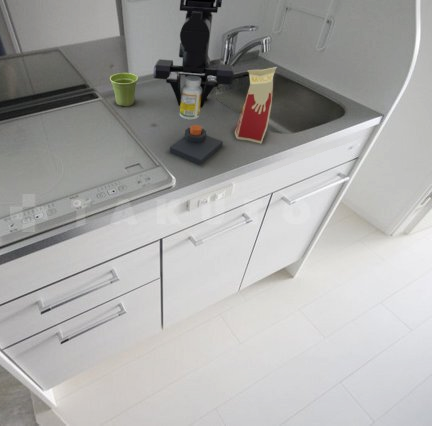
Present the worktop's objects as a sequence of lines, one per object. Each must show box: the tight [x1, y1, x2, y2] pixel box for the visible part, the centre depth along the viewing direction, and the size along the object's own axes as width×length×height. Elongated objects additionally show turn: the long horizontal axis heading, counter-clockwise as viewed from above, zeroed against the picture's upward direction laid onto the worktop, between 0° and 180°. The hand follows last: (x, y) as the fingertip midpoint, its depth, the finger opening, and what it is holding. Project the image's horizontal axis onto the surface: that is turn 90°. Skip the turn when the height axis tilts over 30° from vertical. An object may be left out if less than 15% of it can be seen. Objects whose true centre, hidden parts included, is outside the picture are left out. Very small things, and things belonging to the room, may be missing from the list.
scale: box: [169, 126, 224, 166], centre depth 85 cm, size 12×10×4 cm
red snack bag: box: [234, 66, 278, 145], centre depth 87 cm, size 9×9×20 cm
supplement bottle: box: [179, 75, 203, 120], centre depth 77 cm, size 5×5×10 cm
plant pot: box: [109, 72, 139, 107], centre depth 104 cm, size 9×9×9 cm
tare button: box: [190, 124, 203, 135], centre depth 86 cm, size 3×3×2 cm
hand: (190, 106), depth 79 cm, fingers closed on supplement bottle, 5 cm apart
